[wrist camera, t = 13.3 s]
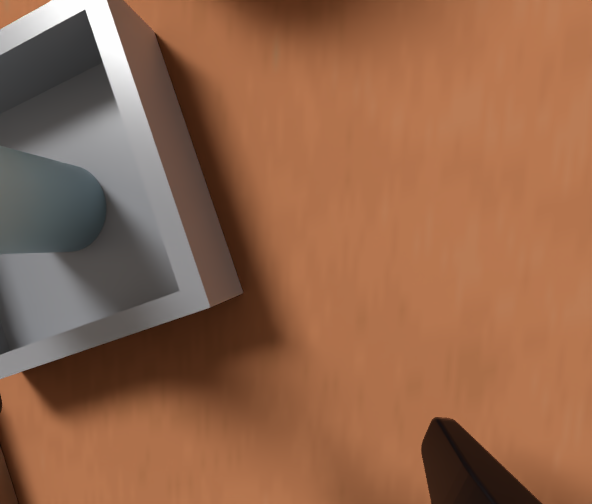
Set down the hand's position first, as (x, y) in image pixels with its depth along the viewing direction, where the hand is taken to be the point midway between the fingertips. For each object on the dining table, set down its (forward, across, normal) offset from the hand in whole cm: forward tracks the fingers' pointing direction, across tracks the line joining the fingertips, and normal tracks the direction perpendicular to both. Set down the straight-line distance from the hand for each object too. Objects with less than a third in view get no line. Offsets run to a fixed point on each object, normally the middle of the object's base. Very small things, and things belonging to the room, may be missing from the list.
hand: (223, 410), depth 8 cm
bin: (+13, +10, +1) cm, 16 cm away
